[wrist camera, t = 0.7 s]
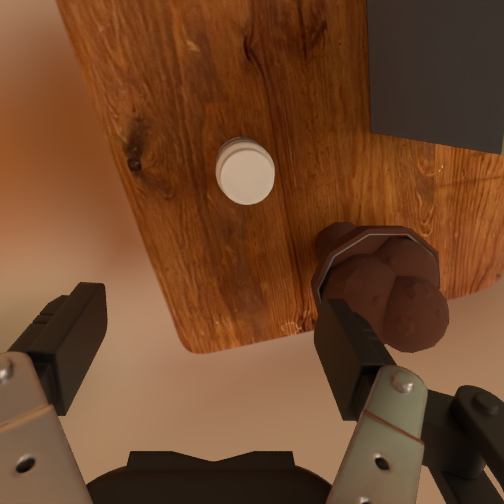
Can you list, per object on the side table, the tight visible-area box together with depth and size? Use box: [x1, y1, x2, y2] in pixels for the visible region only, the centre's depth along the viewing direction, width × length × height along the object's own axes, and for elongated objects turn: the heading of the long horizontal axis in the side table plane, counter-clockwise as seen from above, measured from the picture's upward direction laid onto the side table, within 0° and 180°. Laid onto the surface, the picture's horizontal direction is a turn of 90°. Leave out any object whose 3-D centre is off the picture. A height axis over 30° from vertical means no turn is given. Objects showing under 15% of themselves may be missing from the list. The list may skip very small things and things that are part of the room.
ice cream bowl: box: [311, 222, 449, 353], centre depth 29 cm, size 11×11×15 cm
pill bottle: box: [216, 137, 275, 205], centre depth 28 cm, size 5×5×8 cm
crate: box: [367, 0, 504, 155], centre depth 22 cm, size 13×11×16 cm
